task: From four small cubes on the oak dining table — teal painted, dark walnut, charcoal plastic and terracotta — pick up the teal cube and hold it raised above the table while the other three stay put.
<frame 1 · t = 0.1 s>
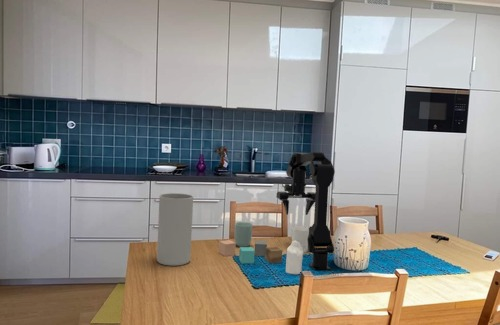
hand: (296, 214, 180), 15 cm above the table, tool pointing down, fingers open, 9 cm apart
cup: (242, 246, 177), on the table
walnut cube: (273, 261, 158), on the table
charcoal cube: (260, 254, 166), on the table
cylinder vase: (173, 261, 151), on the table
white cup: (299, 251, 175), on the table
white bottle: (293, 272, 147), on the table
terracotta cube: (226, 254, 164), on the table
teal cube: (246, 261, 156), on the table
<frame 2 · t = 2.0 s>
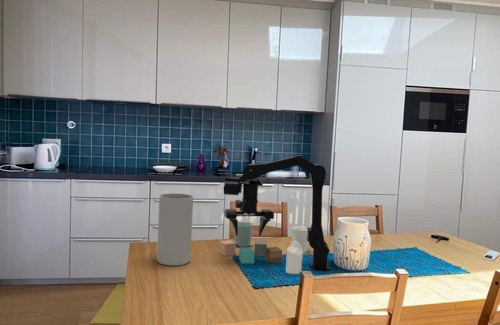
hand: (248, 235, 155), 10 cm above the table, tool pointing down, fingers open, 9 cm apart
nothing on the table moved.
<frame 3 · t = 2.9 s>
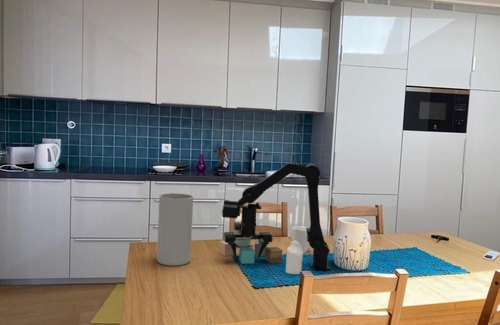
hand: (246, 258, 156), 1 cm above the table, tool pointing down, fingers open, 9 cm apart
nothing on the table moved.
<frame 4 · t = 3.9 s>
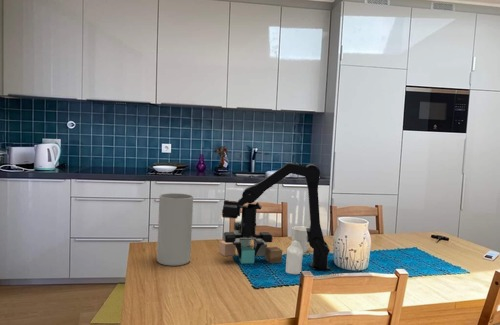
hand: (246, 258, 156), 1 cm above the table, tool pointing down, fingers closed on teal cube, 5 cm apart
teal cube: (246, 261, 156), on the table, touching gripper
everything else where it was.
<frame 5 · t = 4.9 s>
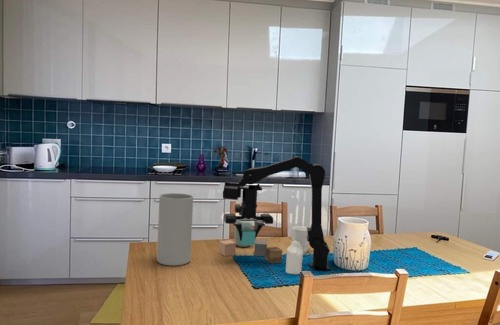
hand: (247, 240, 155), 8 cm above the table, tool pointing down, fingers closed on teal cube, 5 cm apart
teal cube: (247, 243, 155), point 7 cm above the table, touching gripper
everything else where it was.
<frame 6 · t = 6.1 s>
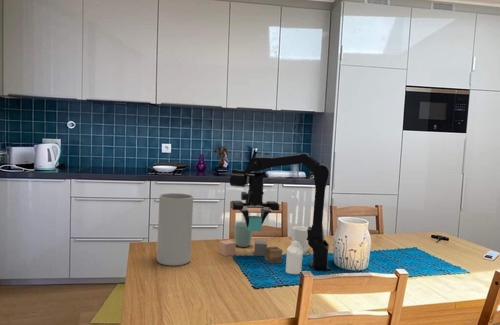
hand: (253, 226, 158), 13 cm above the table, tool pointing down, fingers closed on teal cube, 5 cm apart
teal cube: (253, 229, 158), point 12 cm above the table, touching gripper
everything else where it was.
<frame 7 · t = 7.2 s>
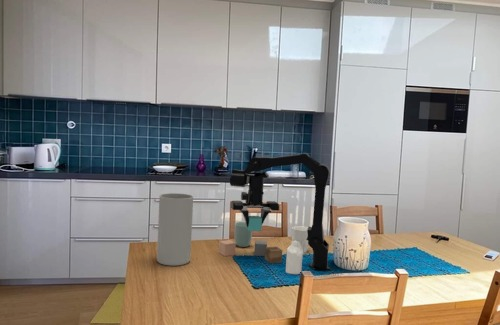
hand: (253, 226, 158), 13 cm above the table, tool pointing down, fingers closed on teal cube, 5 cm apart
teal cube: (253, 229, 159), point 12 cm above the table, touching gripper
everything else where it was.
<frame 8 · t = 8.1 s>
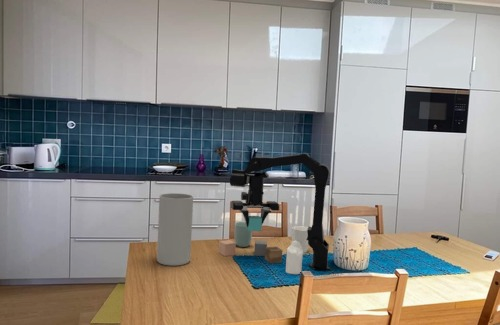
hand: (253, 226, 158), 13 cm above the table, tool pointing down, fingers closed on teal cube, 5 cm apart
teal cube: (253, 229, 159), point 12 cm above the table, touching gripper
everything else where it was.
at the end: the gripper is holding teal cube; teal cube point 11.9 cm above the table; walnut cube moved 0.1 cm from its start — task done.
